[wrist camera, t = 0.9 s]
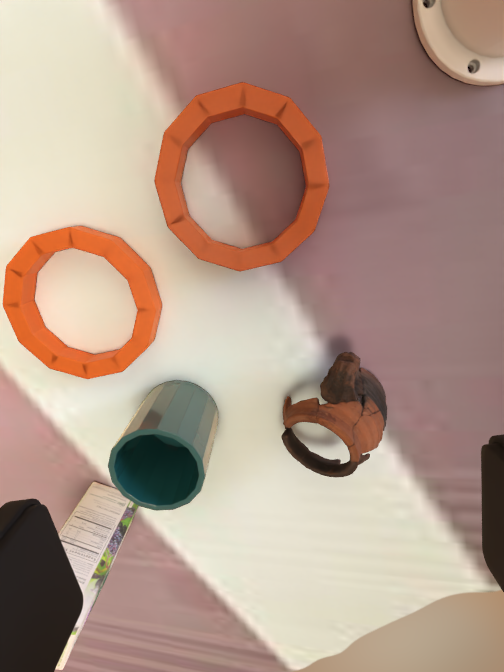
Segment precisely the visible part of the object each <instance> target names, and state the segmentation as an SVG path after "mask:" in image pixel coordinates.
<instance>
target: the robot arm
mask: <svg viewBox="0 0 504 672" xmlns="http://www.w3.org/2000/svg"><path fill="white" fill-rule="evenodd" d="M423 3H426V4H427V8H426V7H424V6H423ZM413 13H414V20H415V26H416V29H417V32H418V35H419V38H420V41H421V43H422V45H423V47H424V48H425V50H426V52H427V54H428V56H429V57H430V58H431V59H432V60H433V61H434V63H435V64H436V65H437V66H438V67H439V68H440V69H441V70H443V71H444V72H445V73H447V74H448V75H450V76H451V77H452V78H455V79H457V80H460V81H462V82H465V83H467V84H474V85H480V86H489V85H500V84H504V0H413ZM468 67H470V68H471V72H469V71H468ZM481 471H482V548H483V554H484V558H485V561H486V563H487V566H488V568H489V569H490V571H491V573H492V574H493V576H494V578H495V579H496V581H497V582H498V584H499V586H500V587H501V589H502V590H503V592H504V435H497V436H492V437H491V438H490V440H489V444H487V445H483V446H482V450H481ZM82 608H83V593H82V591H81V588H80V586H79V583H78V581H77V579H76V576H75V574H74V571H73V569H72V566H71V564H70V562H69V559H68V557H67V554H66V552H65V550H64V547H63V545H62V542H61V540H60V538H59V535H58V533H57V530H56V528H55V526H54V523H53V521H52V518H51V516H50V514H49V511H48V509H47V507H46V506H45V505H41V503H40V502H39V501H38V500H37V499H26V500H19V501H11V502H8V503H5V504H4V505H3V506H2V507H1V508H0V672H54V670H55V668H56V666H57V664H58V662H59V660H60V657H61V655H62V653H63V651H64V649H65V647H66V644H67V642H68V640H69V638H70V636H71V634H72V631H73V629H74V627H75V625H76V623H77V621H78V618H79V616H80V614H81V611H82Z"/></svg>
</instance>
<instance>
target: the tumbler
mask: <svg viewBox="0 0 504 672" xmlns="http://www.w3.org/2000/svg"><path fill="white" fill-rule="evenodd" d="M217 425H218V410H217V407H216V404H215V402H214V400H213V399H212V397H211V396H210V395H209V394H208V393H207V392H206V391H205V390H204V389H203V388H201V387H199V386H198V385H196V384H193V383H190V382H186V381H169V382H165V383H162V384H160V385H158V386H157V387H155V388H154V389H153V390H152V391H151V392H150V393H149V394H148V396H147V397H146V398H145V400H144V401H143V402H142V404H141V405H140V407H139V408H138V410H137V412H136V413H135V415H134V416H133V418H132V419H131V421H130V422H129V424H128V425H127V427H126V428H125V430H124V431H123V433H122V435H121V436H120V438H119V439H118V441H117V442H116V444H115V445H114V447H113V448H112V450H111V454H110V459H109V463H108V468H109V472H110V476H111V480H112V482H113V484H114V485H115V486H116V488H117V489H118V490H119V492H120V493H121V494H122V495H123V496H124V497H126V498H127V499H129V500H130V501H132V502H133V503H135V504H136V505H138V506H141V507H145V508H149V509H152V510H173V509H176V508H178V507H181V506H183V505H185V504H188V503H190V502H191V501H192V500H193V499H194V497H195V496H196V495H197V494H198V493H199V492H200V491H201V488H202V485H203V482H204V479H205V475H206V471H207V467H208V463H209V459H210V455H211V450H212V446H213V442H214V438H215V434H216V430H217Z"/></svg>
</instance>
